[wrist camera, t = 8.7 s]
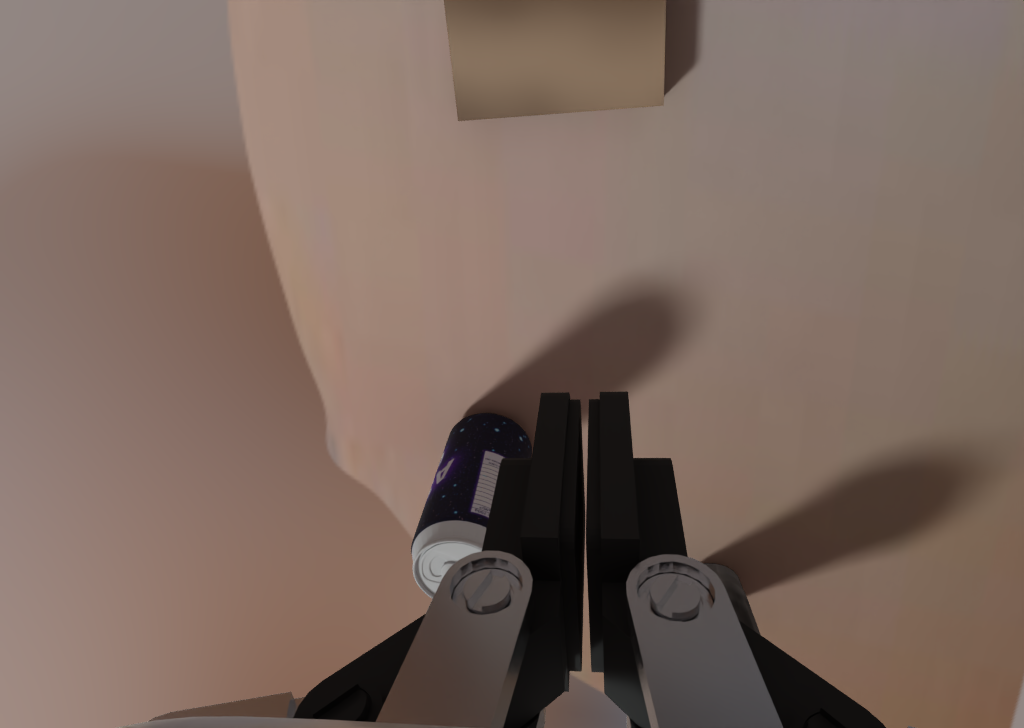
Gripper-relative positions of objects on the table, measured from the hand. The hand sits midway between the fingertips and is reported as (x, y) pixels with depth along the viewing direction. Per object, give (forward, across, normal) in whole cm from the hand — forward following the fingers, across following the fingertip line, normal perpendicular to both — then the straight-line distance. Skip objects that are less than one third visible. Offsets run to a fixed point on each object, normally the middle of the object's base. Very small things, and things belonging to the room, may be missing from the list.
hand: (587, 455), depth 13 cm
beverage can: (+25, +7, +18) cm, 32 cm away
